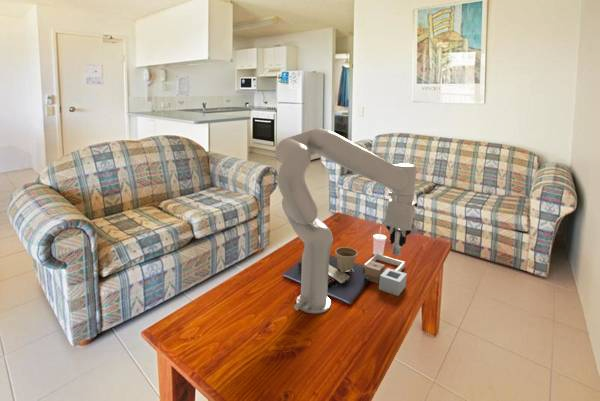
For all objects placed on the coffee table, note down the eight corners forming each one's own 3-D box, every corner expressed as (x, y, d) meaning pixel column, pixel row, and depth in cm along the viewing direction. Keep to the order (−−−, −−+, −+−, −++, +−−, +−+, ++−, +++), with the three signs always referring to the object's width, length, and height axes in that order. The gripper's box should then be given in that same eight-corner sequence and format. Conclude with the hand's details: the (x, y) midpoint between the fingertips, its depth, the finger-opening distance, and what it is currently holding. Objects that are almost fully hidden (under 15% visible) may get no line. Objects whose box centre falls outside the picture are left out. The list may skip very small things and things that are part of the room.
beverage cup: (375, 249, 178) (378, 223, 174) (386, 253, 174) (389, 226, 170) (369, 253, 174) (371, 226, 169) (380, 257, 170) (383, 230, 166)
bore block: (398, 296, 139) (399, 282, 137) (378, 289, 143) (379, 275, 142) (405, 287, 145) (407, 273, 144) (386, 280, 150) (387, 267, 148)
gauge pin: (398, 255, 138) (401, 231, 135) (391, 253, 139) (393, 229, 136) (401, 253, 140) (404, 229, 137) (394, 251, 142) (396, 227, 139)
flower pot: (357, 275, 153) (358, 257, 151) (334, 274, 153) (336, 256, 151) (354, 265, 162) (356, 247, 160) (333, 264, 162) (334, 246, 160)
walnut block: (377, 283, 148) (379, 270, 146) (364, 279, 151) (365, 266, 149) (383, 277, 152) (384, 264, 151) (370, 273, 156) (371, 260, 154)
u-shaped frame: (393, 278, 152) (394, 273, 151) (363, 269, 159) (364, 264, 158) (404, 266, 162) (405, 261, 161) (376, 258, 169) (376, 253, 169)
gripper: (377, 195, 134) (373, 241, 140) (421, 204, 125) (415, 253, 131) (385, 191, 140) (381, 235, 146) (428, 199, 131) (421, 246, 137)
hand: (397, 243), depth 138 cm, fingers closed on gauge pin, 3 cm apart
